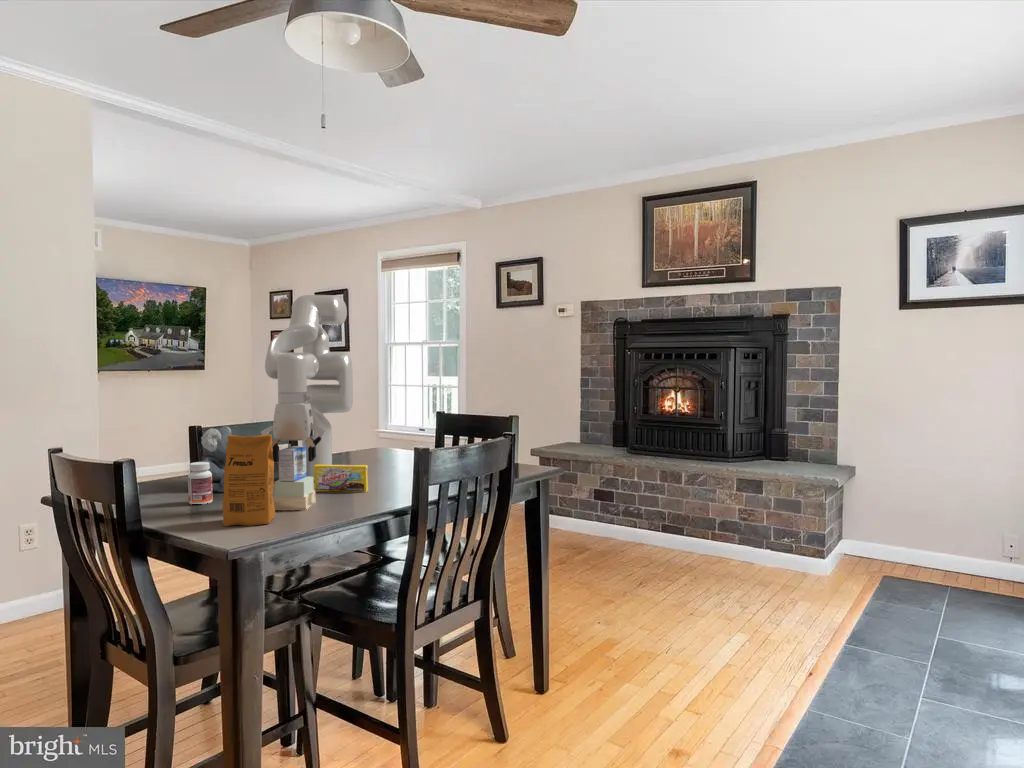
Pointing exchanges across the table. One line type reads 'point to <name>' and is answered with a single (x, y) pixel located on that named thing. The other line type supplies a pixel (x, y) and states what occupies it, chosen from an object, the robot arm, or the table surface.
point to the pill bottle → (200, 483)
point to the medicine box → (292, 463)
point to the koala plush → (216, 454)
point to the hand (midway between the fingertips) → (293, 460)
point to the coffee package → (248, 481)
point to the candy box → (341, 477)
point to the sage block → (294, 487)
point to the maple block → (294, 502)
